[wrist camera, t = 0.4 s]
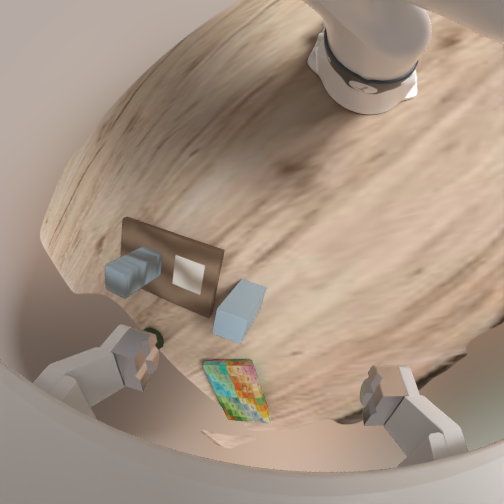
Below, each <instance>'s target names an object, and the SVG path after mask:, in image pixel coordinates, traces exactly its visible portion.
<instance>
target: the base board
mask: <svg viewBox="0 0 504 504" xmlns="http://www.w3.org/2000/svg"><path fill="white" fill-rule="evenodd" d="M224 251H225V250H223V249H220V248H217V247H214V246H211V245H208V244H205V243H202V242H199V241H196V240H193V239H190V238H187V237H184V236H182V235H179V234H176V233H173V232H170V231H167V230H164V229H161V228H158V227H155V226H152V225H150V224H147V223H144V222H141V221H138V220H135V219H132V218H129V217H125V218H123V224H122V241H121V257H120V258H118V259H116V260H114V261H112V262H110V263H108V264H106V265H105V283H106V289H107V290H109V291H111V292H113V293H115V294H117V295H119V296H120V297H122V298H124V299H126V298H127V297H128V296H130V295H131V294H133V293H134V292H136V291H137V290H139V289H140V288H142V289H144V290H146V291H148V292H150V293H153V294H155V295H157V296H159V297H161V298H163V299H166V300H168V301H170V302H172V303H175V304H177V305H179V306H182V307H184V308H186V309H189V310H191V311H193V312H196V313H198V314H200V315H203V316H205V317H208V318H209V317H210V316H211V315H212V311H213V305H214V300H215V295H216V290H217V285H218V280H219V275H220V270H221V265H222V260H223V255H224Z"/></svg>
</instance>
